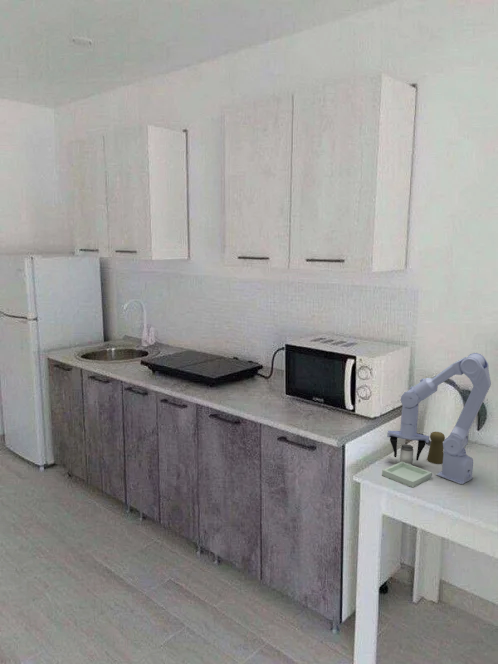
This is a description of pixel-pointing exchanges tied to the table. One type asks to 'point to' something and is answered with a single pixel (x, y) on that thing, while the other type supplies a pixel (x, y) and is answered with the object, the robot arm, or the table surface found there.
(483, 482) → the table surface
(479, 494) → the table surface
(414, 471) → the tray
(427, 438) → the robot arm
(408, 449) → the salt shaker
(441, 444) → the cork
